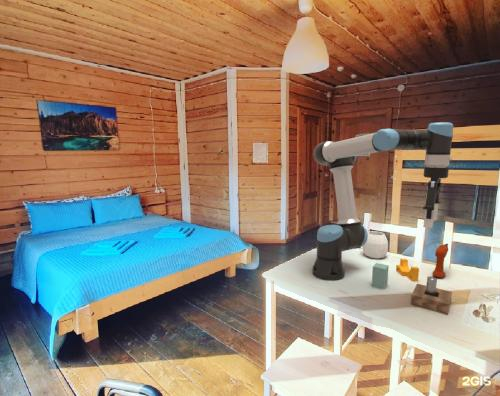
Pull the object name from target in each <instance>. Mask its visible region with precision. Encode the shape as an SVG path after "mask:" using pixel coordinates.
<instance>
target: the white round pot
mask: <svg viewBox="0 0 500 396" xmlns="http://www.w3.org/2000/svg"><path fill="white" fill-rule="evenodd" d="M367 233H368V239H367V242H366V243H365V244H364V245H363V246H362V251H363V254H365V256H367V257H368V258H372V259H377V260H378V259H383V258H385V257H386V256H387V254H388V252H389V251H388V250H389V242H388V239H387V236H386V234H385V233H384V232H382V231H376V230H375V231H374V230H371V231H367Z"/></svg>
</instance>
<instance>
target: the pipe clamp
mask: <svg viewBox="0 0 500 396" xmlns="http://www.w3.org/2000/svg"><path fill="white" fill-rule="evenodd" d="M395 271H396V272H397V273H399V274H400V275H401V276H402V277H407V278H408V279H409V280H410V281H412V282H418V281H419V276H420V268H419V267H418V266H411V267H410V266H409V260H408V259H407V258H400V260H399V264H396V266H395Z"/></svg>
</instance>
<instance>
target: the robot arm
mask: <svg viewBox="0 0 500 396" xmlns="http://www.w3.org/2000/svg"><path fill="white" fill-rule="evenodd" d="M453 137H454V124H453V123H451V122H449V121H448V122H447V121H446V122H443V121H442V122H441V121H440V122H431V123H429V124H428V127H427V128H425V129H400V128H398V129H397V128H382V129H379V130H377V131H376V132H372V133H368V134H364V135H359V136H356V137H352V138H348V139H343V140H339V141H331V140H330V141H323V142H320V143H318V144H317V145H316V146H315V147H314V150H313V158H314V160H315V162H316V163H317V164H319V165H321V166H326V167H328V168H329V171H330V172H331V173H332V176H333V183H334V191H335V199H336V204H337V213H338V221H337V222H336V224H326V225H323V226H320V227H318V229H317V232H316V233H317V235H316V259H315V260H314V264H313V266H312V274H313V275H314V277H316V278H318V279H321V280H325V281H339V280H342V279H344V278H345V277H346V270H345V267H344V263H343V260H342V258H343V252H346V251H349V250H357V249H359V248H361V247H362V248H363V245H364V244H365V243H366V242H367V239H368V230H367V228H366V227H365V226H364V225H363V224H362V222H361V220H360V219H359V218H358V216H357V208H356V207H357V206H356V200H355V194H354V193H355V192H354V185H353V178H352V169H353V168H354V163H355V162H356V160H357V157H358V156H362V155H363V156H364V155H367V154H368V155H369V154H375V153H381V152H386V151H410V150H411V151H416V150H417V151H419V150H420V151H421V150H423V151H425V157H424V166H425V167H424V168H423V177H424V178H426V179H427V178H428V179H430V180H428V182H427V191H426V192H427V193H426V199H425V205H424V206H423V207H422V210H424V218H423V219H424V220H423V228H427V229H433V225H434V221H438V213H439V212H438V211H439V204H441V203H442V200H440V192H441V189H442V182H441V181H442V180H441V179H447V178H448V177H449V171H450V169H449V166H450V161H453V157H451V151H452V143H453Z"/></svg>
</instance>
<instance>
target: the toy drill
mask: <svg viewBox="0 0 500 396" xmlns="http://www.w3.org/2000/svg"><path fill="white" fill-rule="evenodd" d="M448 252H449V243H445V244H444V243H443V244H440V245H439V246H438V247H437V248H436V250H435V255H434V256H435V257H436V261H435V262H436V263H435V268H434V270H433V271H432V277H435V278H442V279H443V278H445V277H446V273H445V272H444V263H445V258H446V256H447V254H448Z"/></svg>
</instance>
